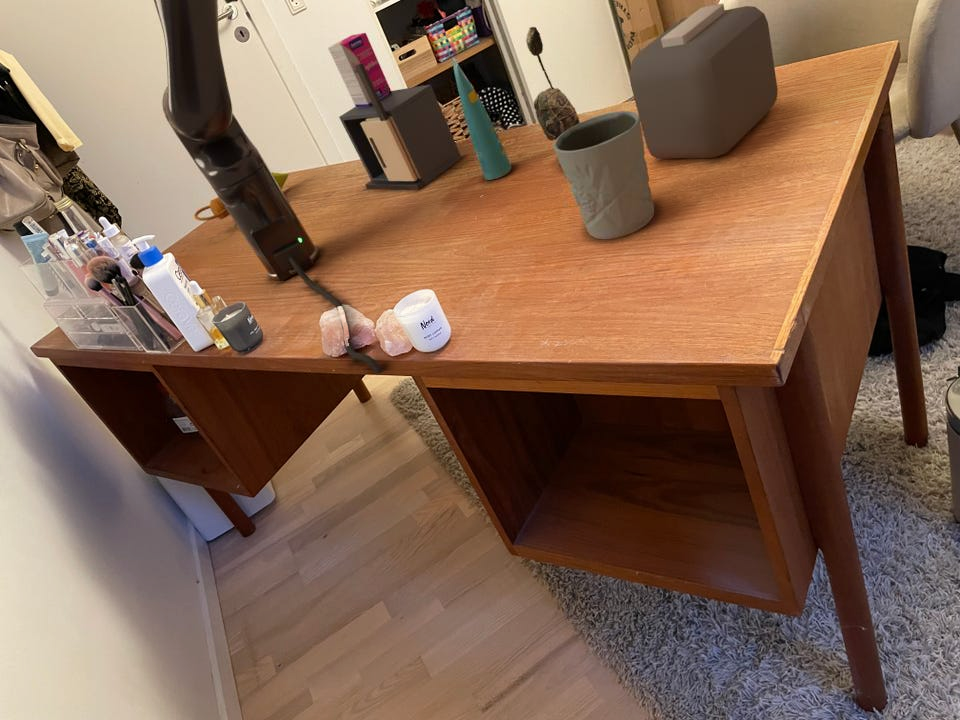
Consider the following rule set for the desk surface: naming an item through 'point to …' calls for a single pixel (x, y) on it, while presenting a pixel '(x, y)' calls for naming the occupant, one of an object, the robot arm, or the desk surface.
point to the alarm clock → (704, 82)
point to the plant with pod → (551, 99)
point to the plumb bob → (220, 209)
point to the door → (384, 137)
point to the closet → (406, 136)
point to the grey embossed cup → (608, 173)
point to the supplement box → (346, 59)
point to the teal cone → (481, 130)
